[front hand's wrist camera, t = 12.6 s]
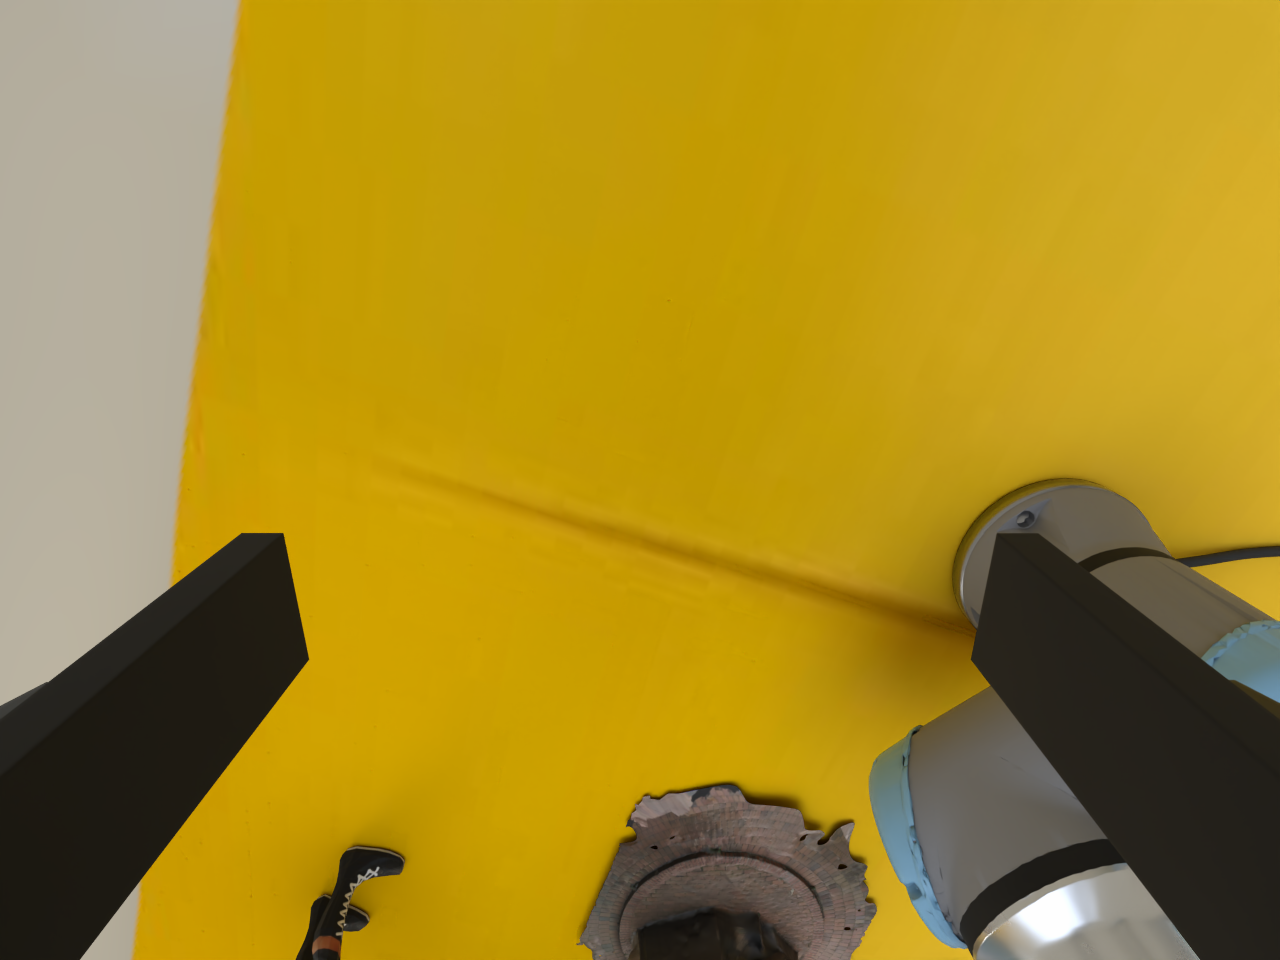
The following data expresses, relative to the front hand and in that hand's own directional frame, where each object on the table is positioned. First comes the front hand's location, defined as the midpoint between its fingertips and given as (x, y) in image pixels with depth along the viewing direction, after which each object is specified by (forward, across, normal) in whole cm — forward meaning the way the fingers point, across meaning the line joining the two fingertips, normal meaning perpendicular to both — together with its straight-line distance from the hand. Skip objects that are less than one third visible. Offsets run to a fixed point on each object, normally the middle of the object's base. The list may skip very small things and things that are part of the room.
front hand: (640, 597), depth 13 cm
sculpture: (+39, +9, -61) cm, 73 cm away
